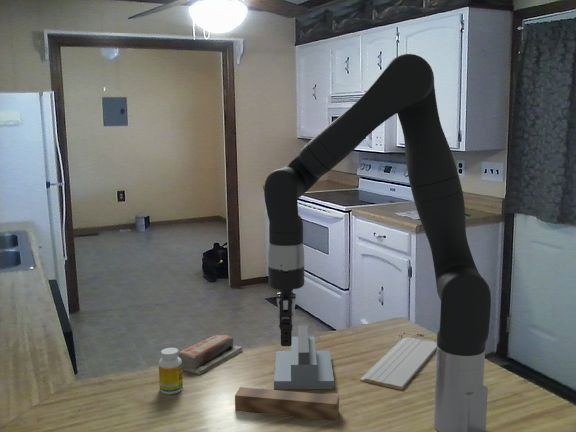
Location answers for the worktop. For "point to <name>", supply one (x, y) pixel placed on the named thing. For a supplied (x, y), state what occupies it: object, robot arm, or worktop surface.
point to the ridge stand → (303, 365)
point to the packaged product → (208, 354)
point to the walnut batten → (287, 403)
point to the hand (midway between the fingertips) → (286, 338)
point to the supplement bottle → (170, 371)
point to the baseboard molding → (400, 363)
